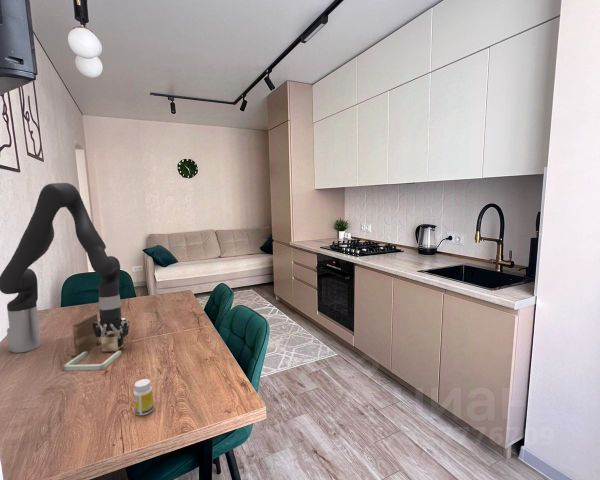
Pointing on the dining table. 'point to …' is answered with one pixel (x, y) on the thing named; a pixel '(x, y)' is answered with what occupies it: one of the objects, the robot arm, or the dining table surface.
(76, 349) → the screen
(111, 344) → the letter cube
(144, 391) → the supplement bottle
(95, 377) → the dining table surface
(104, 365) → the bay
